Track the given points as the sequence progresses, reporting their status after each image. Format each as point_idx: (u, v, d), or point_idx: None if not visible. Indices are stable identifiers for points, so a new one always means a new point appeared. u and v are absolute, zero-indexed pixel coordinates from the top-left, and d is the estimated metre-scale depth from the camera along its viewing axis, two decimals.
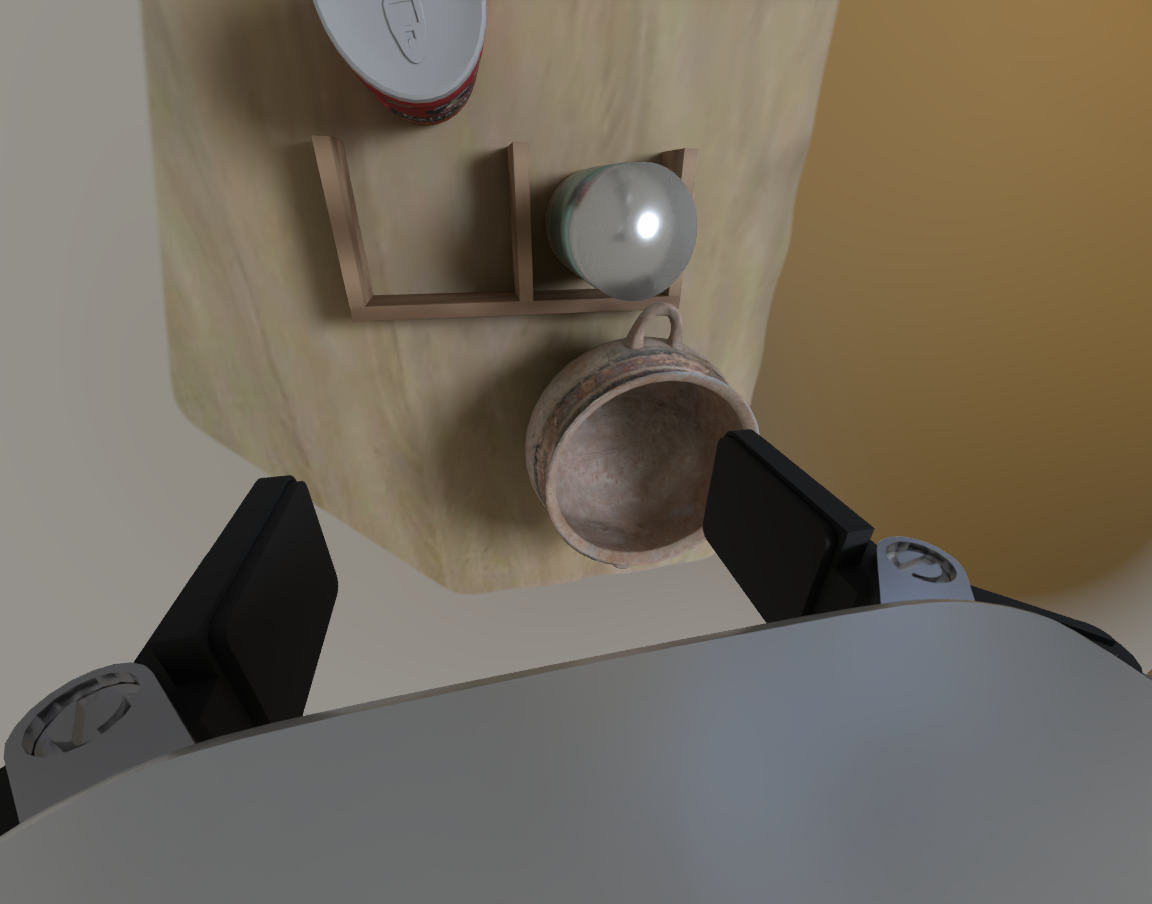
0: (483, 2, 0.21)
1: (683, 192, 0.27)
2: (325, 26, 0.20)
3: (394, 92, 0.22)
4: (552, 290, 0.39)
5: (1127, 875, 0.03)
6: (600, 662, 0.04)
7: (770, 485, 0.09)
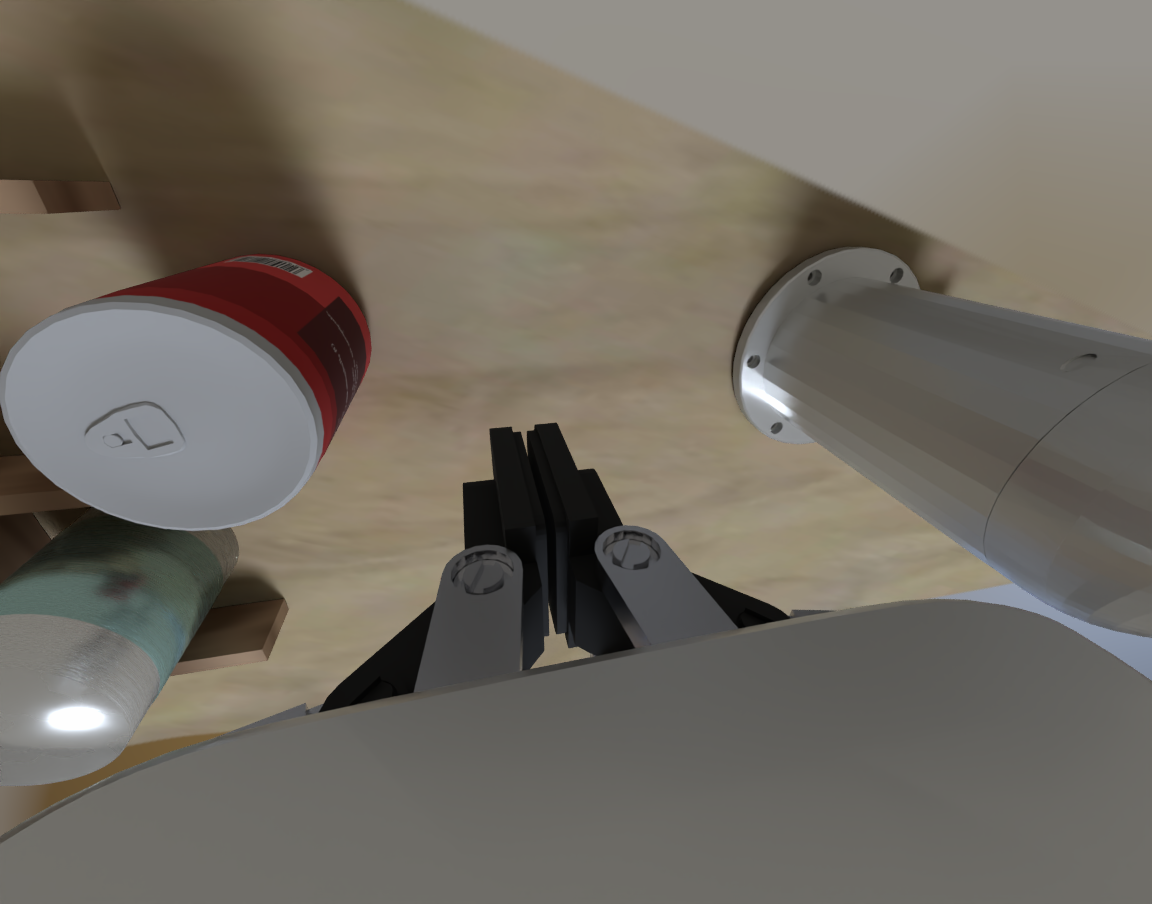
0: (211, 528, 0.16)
1: (109, 755, 0.20)
2: (52, 319, 0.12)
3: (6, 416, 0.13)
4: None
5: (1127, 875, 0.03)
6: (600, 662, 0.04)
7: (540, 476, 0.09)
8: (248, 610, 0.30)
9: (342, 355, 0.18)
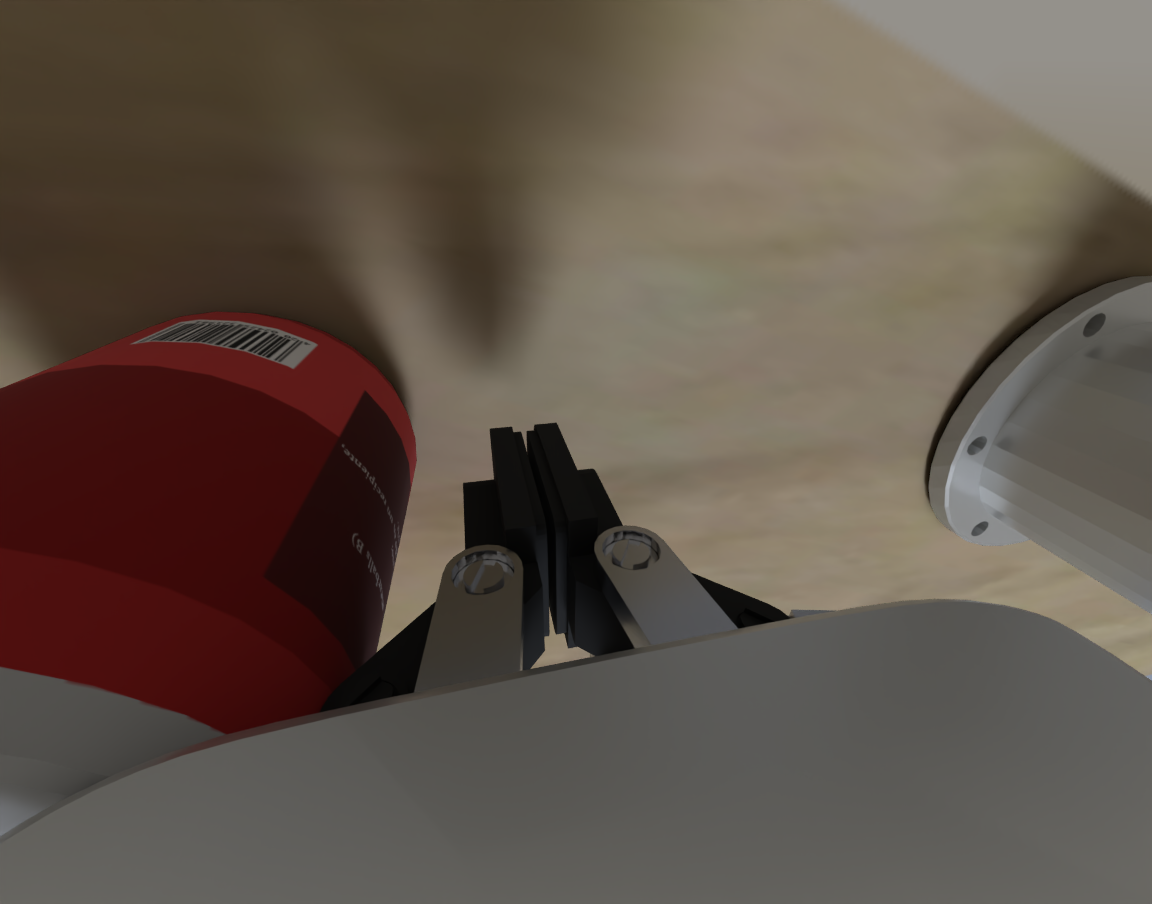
0: None
1: None
2: None
3: None
4: None
5: (1126, 874, 0.03)
6: (600, 662, 0.04)
7: (540, 476, 0.09)
8: None
9: (373, 546, 0.08)
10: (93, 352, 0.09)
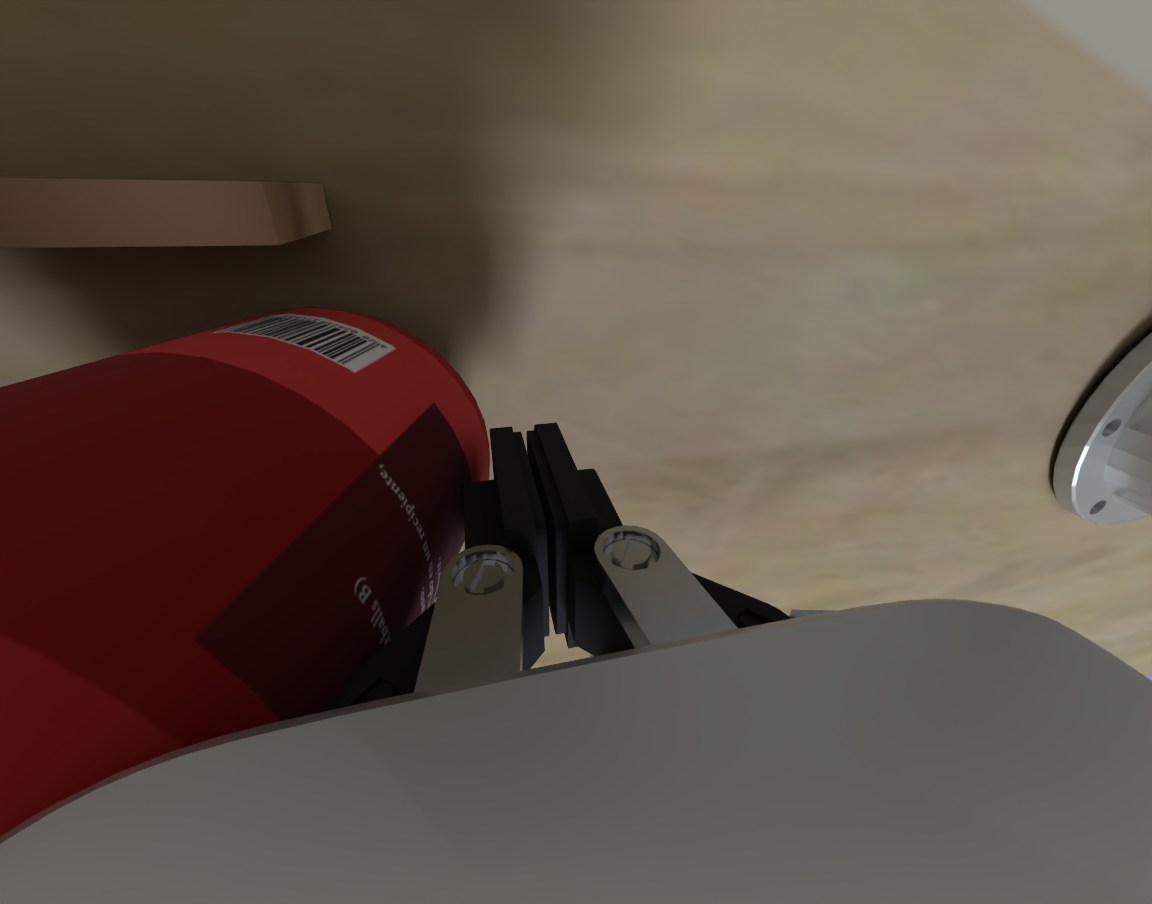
0: None
1: None
2: None
3: None
4: None
5: (1127, 875, 0.03)
6: (600, 662, 0.04)
7: (540, 476, 0.09)
8: None
9: (387, 593, 0.07)
10: (178, 338, 0.09)
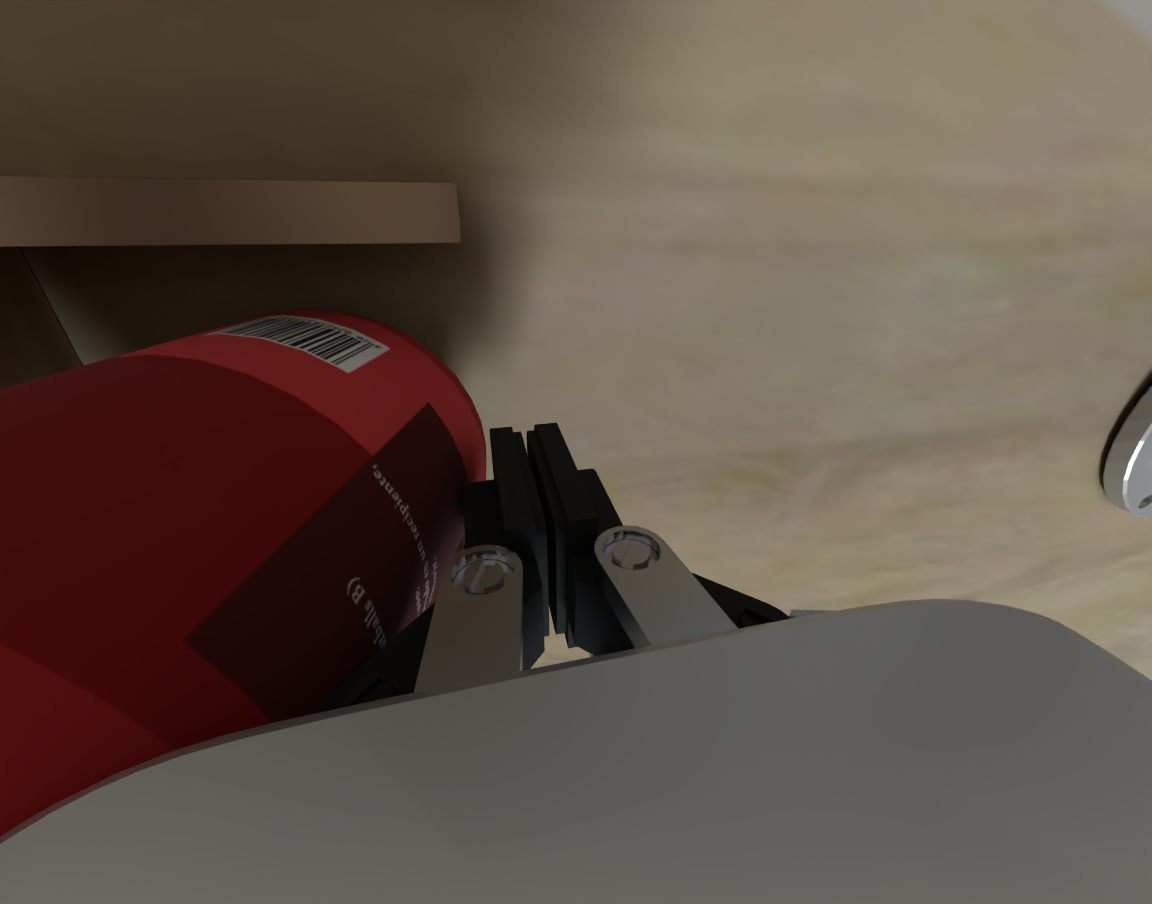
0: None
1: None
2: None
3: None
4: None
5: (1127, 875, 0.03)
6: (600, 662, 0.04)
7: (540, 476, 0.09)
8: None
9: (381, 593, 0.07)
10: None
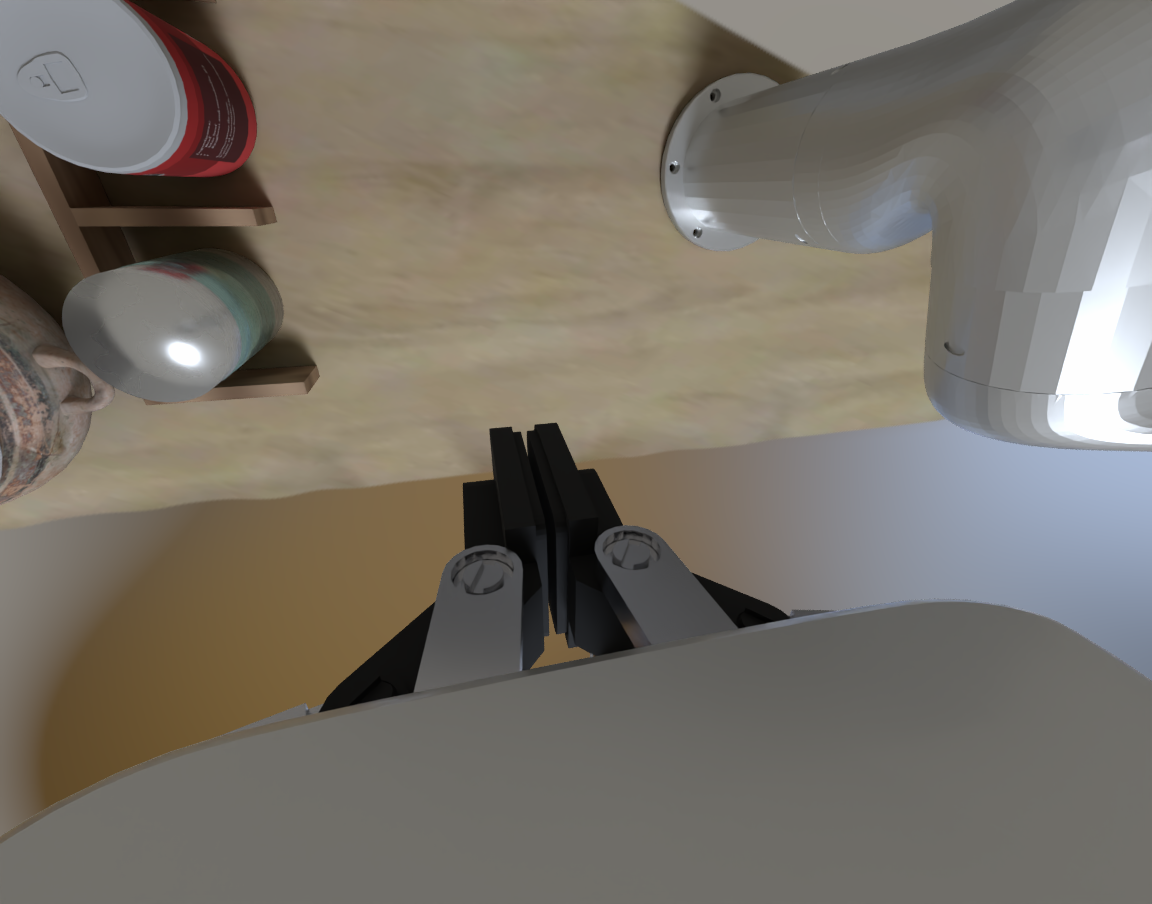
0: (111, 169, 0.23)
1: (211, 381, 0.28)
2: None
3: None
4: (131, 256, 0.33)
5: (1127, 875, 0.03)
6: (600, 662, 0.04)
7: (540, 476, 0.09)
8: (289, 369, 0.39)
9: (212, 80, 0.25)
10: None
